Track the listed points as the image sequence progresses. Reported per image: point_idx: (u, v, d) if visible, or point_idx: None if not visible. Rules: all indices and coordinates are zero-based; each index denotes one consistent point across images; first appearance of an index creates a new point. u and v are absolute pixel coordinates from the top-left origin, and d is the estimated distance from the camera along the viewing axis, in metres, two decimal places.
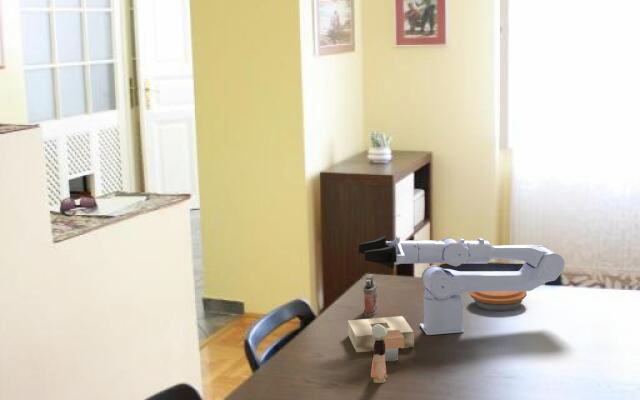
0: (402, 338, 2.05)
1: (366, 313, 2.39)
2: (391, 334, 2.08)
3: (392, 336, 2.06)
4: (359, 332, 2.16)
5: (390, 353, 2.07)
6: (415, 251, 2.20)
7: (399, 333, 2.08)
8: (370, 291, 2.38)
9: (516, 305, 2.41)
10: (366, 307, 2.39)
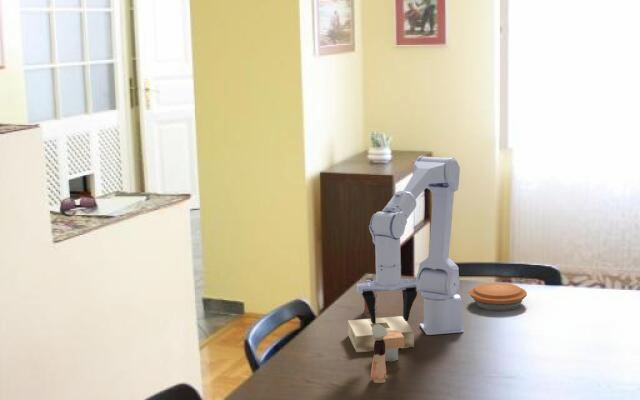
0: (402, 338, 2.05)
1: (366, 313, 2.39)
2: (392, 334, 2.08)
3: (393, 336, 2.06)
4: (359, 332, 2.16)
5: (390, 353, 2.07)
6: (400, 267, 2.04)
7: (399, 333, 2.08)
8: None
9: (516, 305, 2.41)
10: (366, 307, 2.39)
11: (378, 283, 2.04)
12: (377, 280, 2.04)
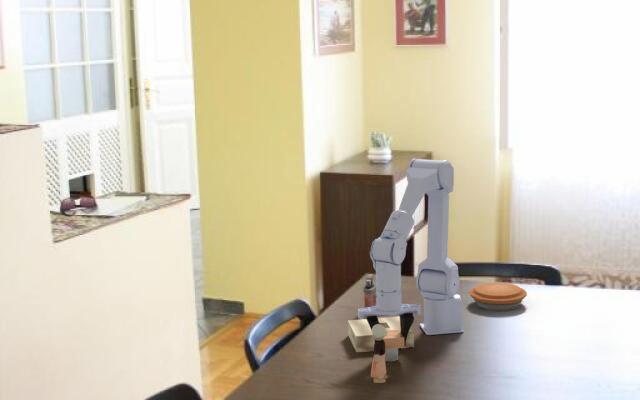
0: (402, 338, 2.05)
1: None
2: (392, 334, 2.07)
3: (392, 336, 2.06)
4: (359, 332, 2.16)
5: (390, 353, 2.07)
6: None
7: (399, 333, 2.08)
8: (370, 291, 2.38)
9: (516, 305, 2.41)
10: (366, 307, 2.39)
11: (379, 308, 2.05)
12: (378, 305, 2.05)
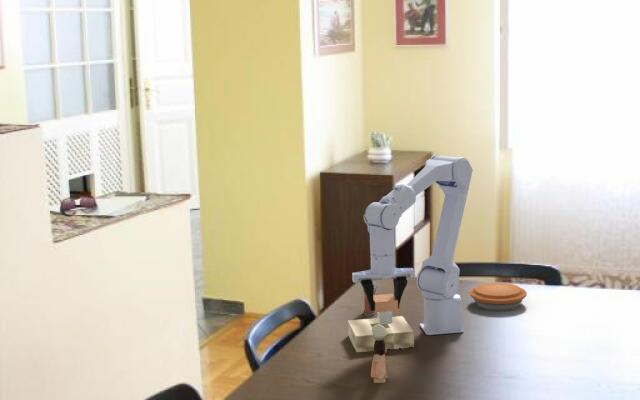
0: (396, 301, 2.10)
1: (366, 313, 2.39)
2: (386, 297, 2.12)
3: (387, 299, 2.11)
4: (359, 332, 2.16)
5: (384, 316, 2.12)
6: (394, 256, 2.10)
7: (393, 297, 2.13)
8: None
9: (516, 305, 2.41)
10: (366, 307, 2.39)
11: (373, 272, 2.10)
12: (372, 269, 2.10)
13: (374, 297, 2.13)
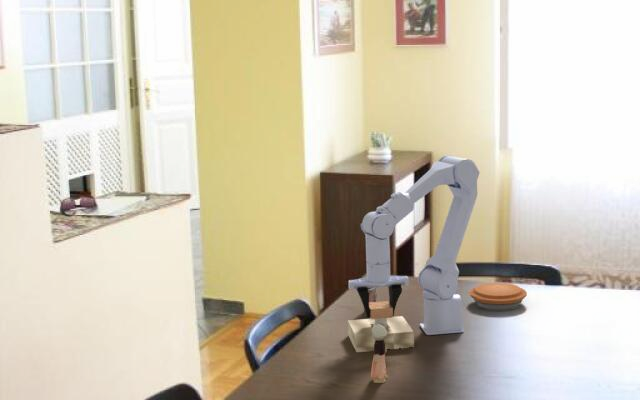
0: (391, 308, 2.16)
1: None
2: (381, 305, 2.18)
3: (382, 306, 2.17)
4: (359, 332, 2.16)
5: (379, 322, 2.18)
6: (389, 264, 2.16)
7: (388, 304, 2.19)
8: (370, 291, 2.38)
9: (516, 305, 2.41)
10: None
11: (368, 280, 2.16)
12: (368, 277, 2.16)
13: (369, 304, 2.19)
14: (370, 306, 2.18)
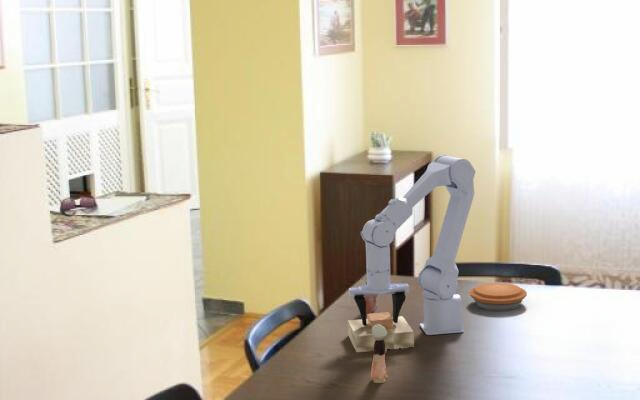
0: (391, 320, 2.17)
1: (366, 313, 2.39)
2: (381, 316, 2.19)
3: (382, 318, 2.17)
4: (359, 332, 2.16)
5: None
6: None
7: (388, 315, 2.19)
8: None
9: (516, 305, 2.41)
10: (366, 307, 2.39)
11: (369, 287, 2.16)
12: (368, 285, 2.17)
13: (370, 315, 2.20)
14: (370, 317, 2.18)
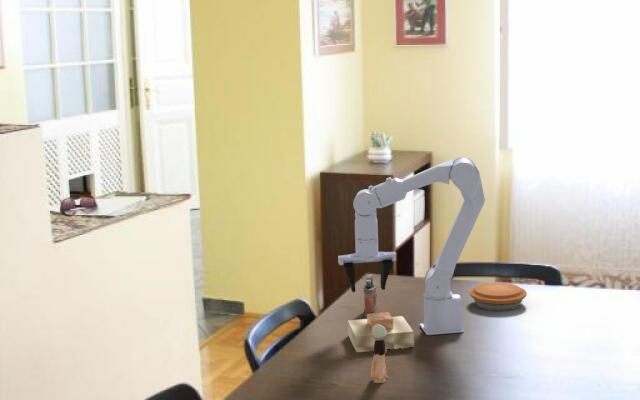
0: (391, 320, 2.17)
1: (366, 313, 2.39)
2: (381, 316, 2.19)
3: (382, 318, 2.17)
4: (359, 332, 2.16)
5: None
6: (377, 240, 2.25)
7: (388, 315, 2.19)
8: (370, 291, 2.38)
9: (516, 305, 2.41)
10: (366, 307, 2.39)
11: (357, 255, 2.24)
12: (356, 252, 2.25)
13: (370, 315, 2.20)
14: (370, 317, 2.18)
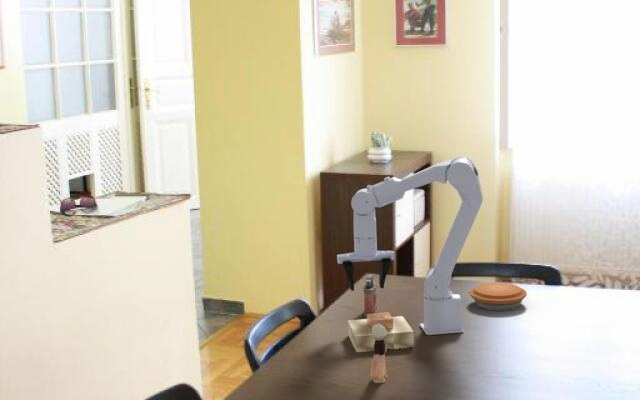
0: (391, 320, 2.17)
1: (366, 313, 2.39)
2: (381, 316, 2.19)
3: (382, 318, 2.17)
4: (359, 332, 2.16)
5: None
6: (376, 239, 2.26)
7: (388, 315, 2.19)
8: (370, 291, 2.38)
9: (516, 305, 2.41)
10: (366, 307, 2.39)
11: (356, 254, 2.26)
12: (355, 251, 2.26)
13: (370, 315, 2.20)
14: (370, 317, 2.18)
